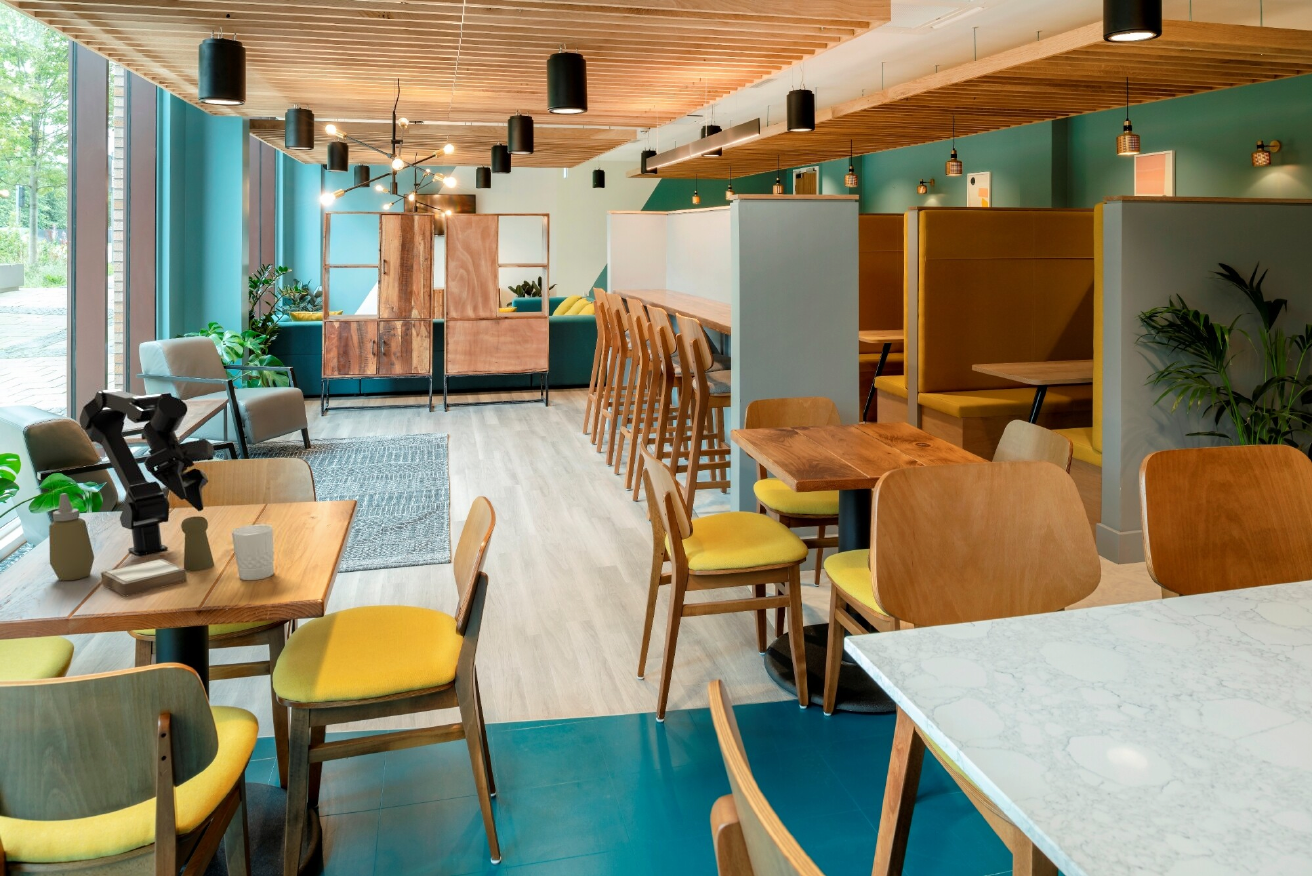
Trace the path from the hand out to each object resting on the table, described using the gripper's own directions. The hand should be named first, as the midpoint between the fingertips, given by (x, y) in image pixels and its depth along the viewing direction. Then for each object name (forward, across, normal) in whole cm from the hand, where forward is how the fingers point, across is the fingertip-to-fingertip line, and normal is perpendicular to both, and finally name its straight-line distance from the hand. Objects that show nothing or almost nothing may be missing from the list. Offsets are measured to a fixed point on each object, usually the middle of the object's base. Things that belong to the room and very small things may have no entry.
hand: (192, 504), depth 206 cm
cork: (+10, +9, +6) cm, 15 cm away
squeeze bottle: (0, +6, +28) cm, 29 cm away
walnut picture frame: (+10, 0, +15) cm, 18 cm away
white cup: (+20, +2, -5) cm, 21 cm away
